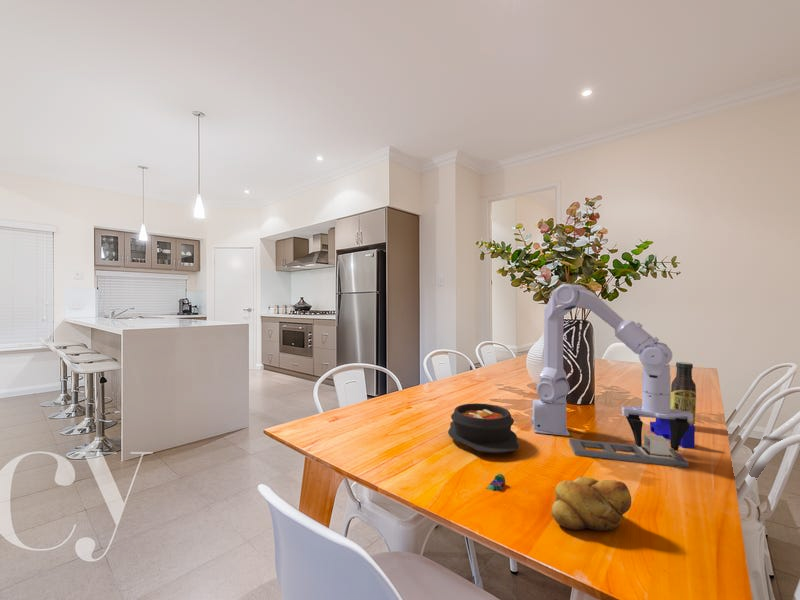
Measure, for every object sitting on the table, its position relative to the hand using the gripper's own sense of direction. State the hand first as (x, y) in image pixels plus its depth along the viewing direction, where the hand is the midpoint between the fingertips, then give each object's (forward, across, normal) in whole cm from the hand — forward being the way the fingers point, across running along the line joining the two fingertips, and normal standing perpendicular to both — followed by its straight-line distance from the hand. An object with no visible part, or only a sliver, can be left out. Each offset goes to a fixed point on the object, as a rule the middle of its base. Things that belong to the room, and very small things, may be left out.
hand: (656, 447), depth 88 cm
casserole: (+3, -42, -1) cm, 42 cm away
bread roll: (+3, -23, -33) cm, 40 cm away
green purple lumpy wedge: (+3, -37, -25) cm, 45 cm away
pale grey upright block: (+3, 0, 0) cm, 3 cm away
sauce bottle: (+3, +17, +28) cm, 33 cm away
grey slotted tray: (+3, -7, 0) cm, 7 cm away
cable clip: (+3, +9, +16) cm, 18 cm away
